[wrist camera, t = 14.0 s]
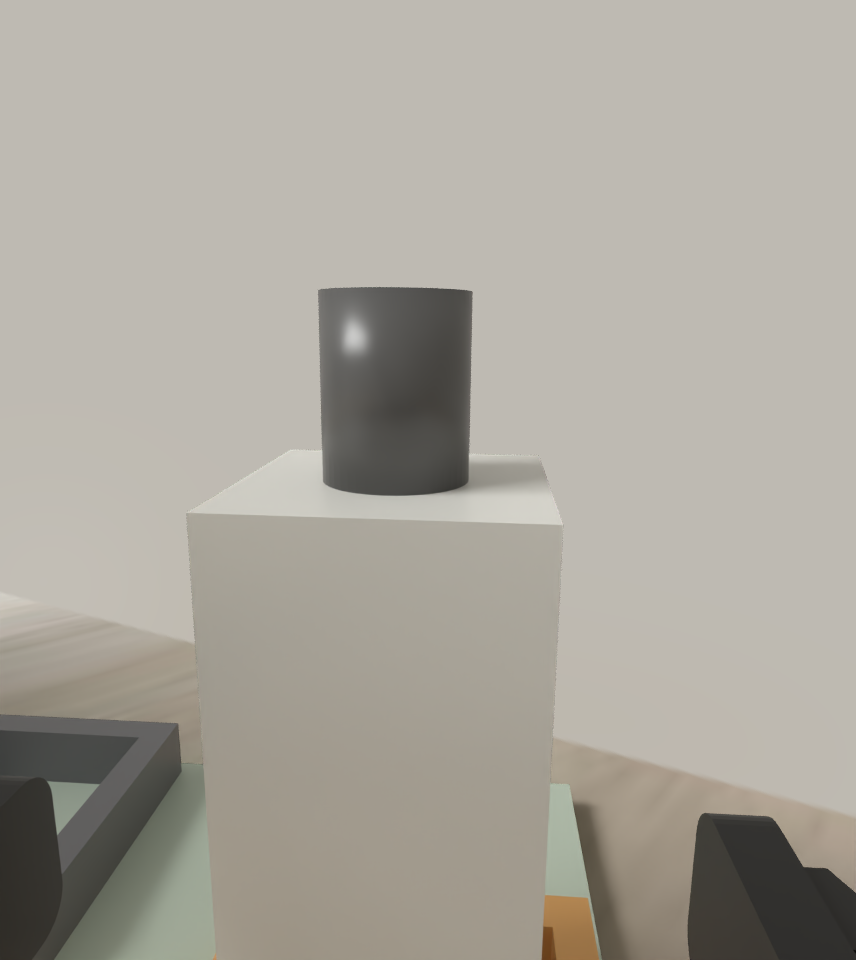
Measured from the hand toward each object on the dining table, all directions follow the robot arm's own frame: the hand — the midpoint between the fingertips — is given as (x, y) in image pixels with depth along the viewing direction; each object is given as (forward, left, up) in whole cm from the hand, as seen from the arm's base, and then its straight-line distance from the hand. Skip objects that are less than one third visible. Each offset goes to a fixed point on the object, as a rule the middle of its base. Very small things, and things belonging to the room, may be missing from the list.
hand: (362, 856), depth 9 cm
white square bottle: (0, +4, -10) cm, 11 cm away
